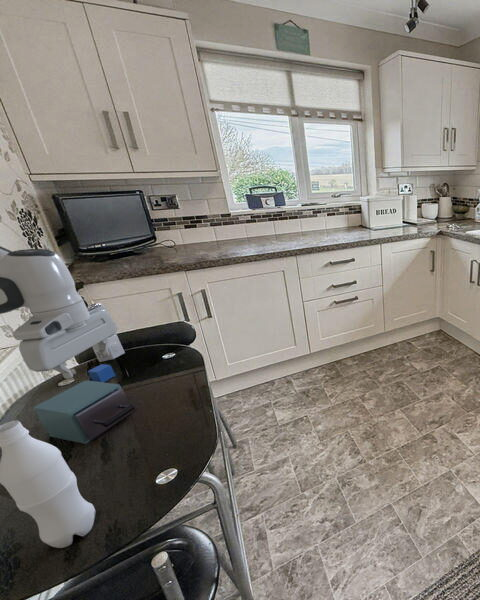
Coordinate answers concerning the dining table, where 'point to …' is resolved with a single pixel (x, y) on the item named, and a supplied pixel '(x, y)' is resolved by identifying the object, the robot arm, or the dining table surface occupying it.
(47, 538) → the water bottle
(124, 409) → the purple drawer
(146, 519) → the dining table surface
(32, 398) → the dining table surface
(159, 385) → the dining table surface
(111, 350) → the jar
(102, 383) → the drawer cabinet
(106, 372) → the blue cube
